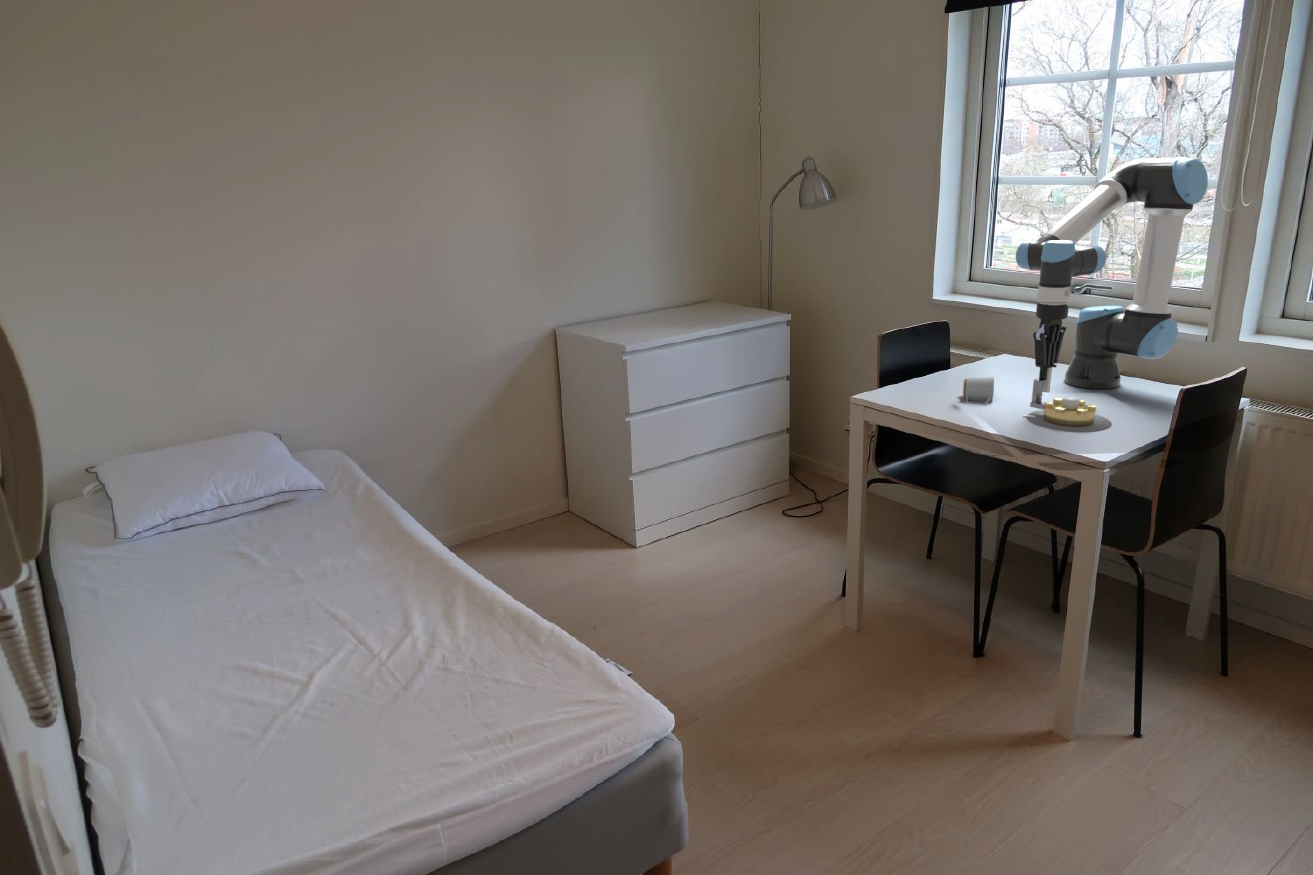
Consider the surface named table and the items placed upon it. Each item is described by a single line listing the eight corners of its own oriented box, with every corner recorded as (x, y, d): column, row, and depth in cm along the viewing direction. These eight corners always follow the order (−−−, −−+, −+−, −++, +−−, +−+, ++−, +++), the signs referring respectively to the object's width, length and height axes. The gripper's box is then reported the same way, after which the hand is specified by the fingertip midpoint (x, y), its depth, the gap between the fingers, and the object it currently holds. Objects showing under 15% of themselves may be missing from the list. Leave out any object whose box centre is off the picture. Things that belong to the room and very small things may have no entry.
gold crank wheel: (1103, 419, 224) (1107, 386, 221) (1080, 429, 217) (1084, 395, 214) (1042, 407, 236) (1046, 375, 233) (1018, 416, 229) (1022, 383, 226)
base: (1088, 413, 235) (1092, 388, 233) (1126, 436, 216) (1130, 409, 214) (1014, 415, 235) (1016, 390, 233) (1044, 438, 216) (1047, 411, 214)
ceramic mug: (962, 398, 252) (964, 372, 250) (993, 400, 250) (995, 374, 247) (961, 409, 243) (963, 382, 241) (992, 411, 240) (995, 384, 238)
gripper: (1054, 307, 218) (1045, 398, 225) (1079, 300, 225) (1069, 389, 233) (1026, 304, 223) (1017, 393, 231) (1051, 297, 231) (1042, 384, 238)
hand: (1043, 391), depth 232 cm, fingers closed
